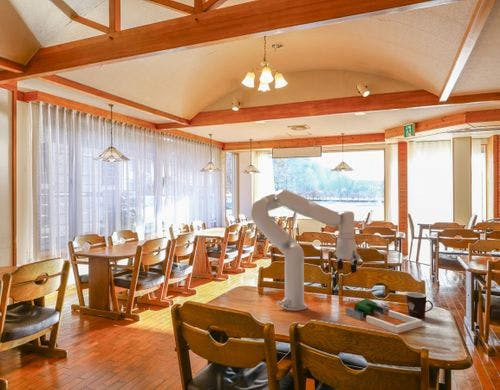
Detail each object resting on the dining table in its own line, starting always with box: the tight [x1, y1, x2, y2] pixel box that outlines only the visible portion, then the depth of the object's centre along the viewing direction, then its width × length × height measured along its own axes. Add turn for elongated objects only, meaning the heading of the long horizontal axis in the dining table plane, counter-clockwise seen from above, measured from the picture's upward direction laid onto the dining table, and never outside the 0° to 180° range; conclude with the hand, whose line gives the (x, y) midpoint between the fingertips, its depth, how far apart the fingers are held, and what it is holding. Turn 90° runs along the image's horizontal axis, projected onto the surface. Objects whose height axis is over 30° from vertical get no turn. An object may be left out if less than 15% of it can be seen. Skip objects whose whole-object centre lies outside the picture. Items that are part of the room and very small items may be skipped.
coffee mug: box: [405, 291, 434, 320], centre depth 165 cm, size 12×9×10 cm
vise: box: [345, 303, 391, 321], centre depth 172 cm, size 23×9×3 cm, turn 120°
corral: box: [365, 309, 423, 334], centre depth 157 cm, size 16×16×2 cm
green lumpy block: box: [353, 298, 378, 316], centre depth 171 cm, size 12×6×9 cm, turn 130°
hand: (346, 270), depth 181 cm, fingers open, 8 cm apart
